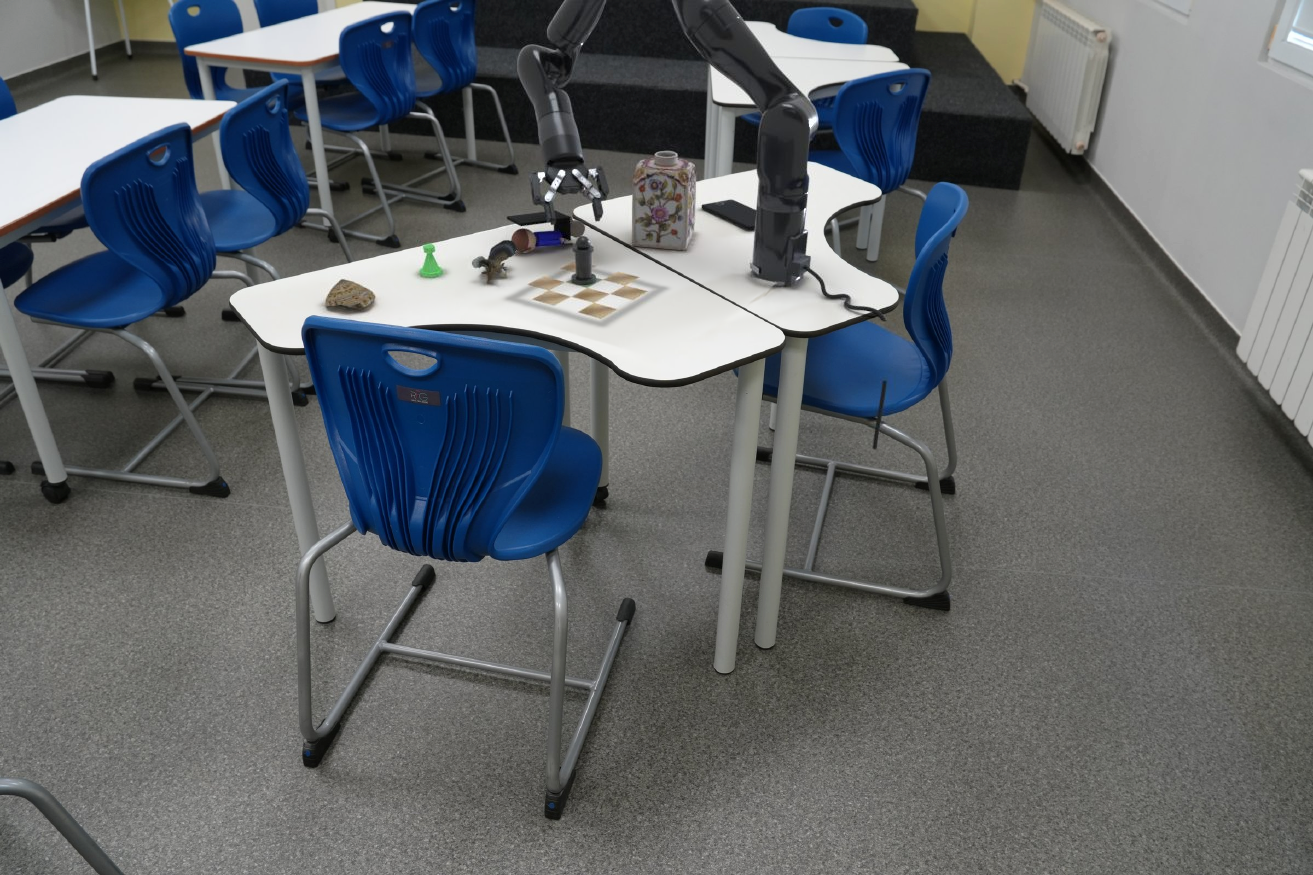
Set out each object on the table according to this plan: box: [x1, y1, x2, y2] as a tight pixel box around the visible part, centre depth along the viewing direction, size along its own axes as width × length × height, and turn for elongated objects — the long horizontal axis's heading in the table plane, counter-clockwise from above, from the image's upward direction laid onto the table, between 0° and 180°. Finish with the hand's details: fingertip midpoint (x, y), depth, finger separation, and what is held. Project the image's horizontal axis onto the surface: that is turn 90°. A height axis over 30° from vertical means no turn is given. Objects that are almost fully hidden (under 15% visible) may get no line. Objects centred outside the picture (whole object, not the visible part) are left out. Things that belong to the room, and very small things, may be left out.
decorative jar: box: [631, 150, 698, 251], centre depth 200 cm, size 12×12×18 cm
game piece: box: [419, 242, 444, 279], centre depth 184 cm, size 4×4×6 cm
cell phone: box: [701, 199, 756, 231], centre depth 219 cm, size 9×18×1 cm, turn 33°
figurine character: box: [506, 209, 586, 254], centre depth 198 cm, size 7×8×15 cm
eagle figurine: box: [471, 239, 517, 285], centre depth 184 cm, size 8×7×9 cm
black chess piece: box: [570, 235, 597, 286], centre depth 179 cm, size 5×5×8 cm
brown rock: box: [325, 278, 377, 310], centre depth 171 cm, size 8×6×8 cm
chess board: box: [527, 260, 649, 320], centre depth 179 cm, size 20×20×1 cm
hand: (576, 221), depth 181 cm, fingers open, 8 cm apart
